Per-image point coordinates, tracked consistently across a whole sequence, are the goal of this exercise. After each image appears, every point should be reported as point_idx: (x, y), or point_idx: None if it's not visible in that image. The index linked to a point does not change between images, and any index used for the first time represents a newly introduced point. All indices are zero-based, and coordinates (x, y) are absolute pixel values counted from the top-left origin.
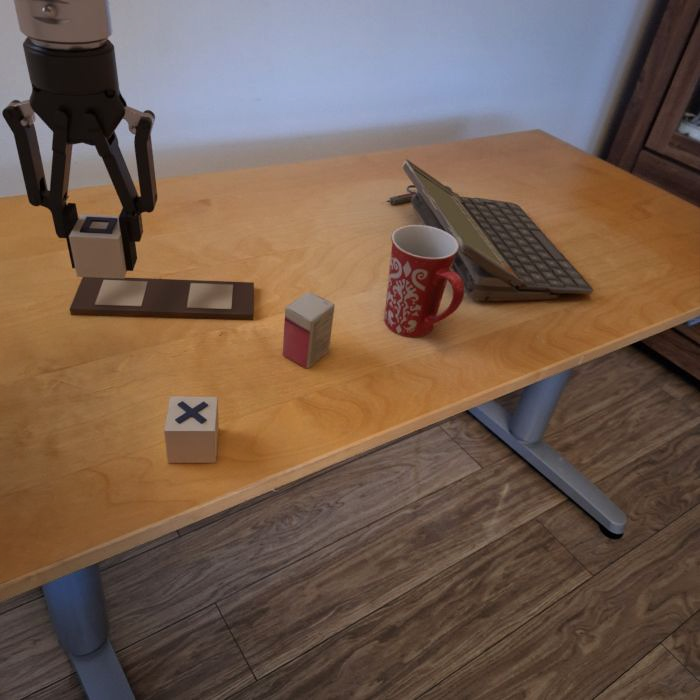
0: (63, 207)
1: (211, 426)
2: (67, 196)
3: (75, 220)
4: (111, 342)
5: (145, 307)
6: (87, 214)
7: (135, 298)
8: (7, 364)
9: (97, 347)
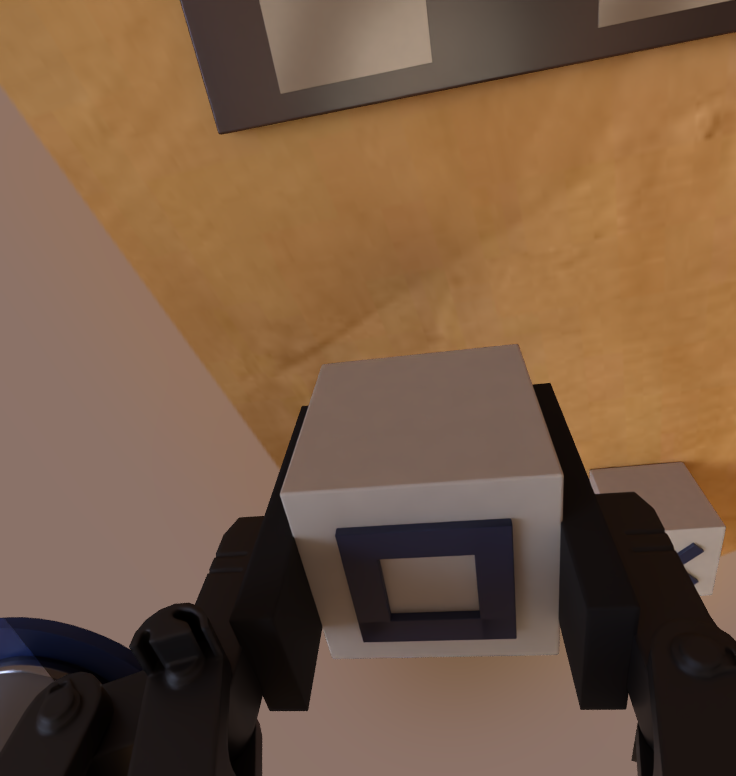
0: (254, 704)
1: (706, 587)
2: (207, 638)
3: (303, 588)
4: (388, 237)
5: (447, 63)
6: (319, 494)
7: (399, 14)
8: (199, 353)
9: (360, 263)
